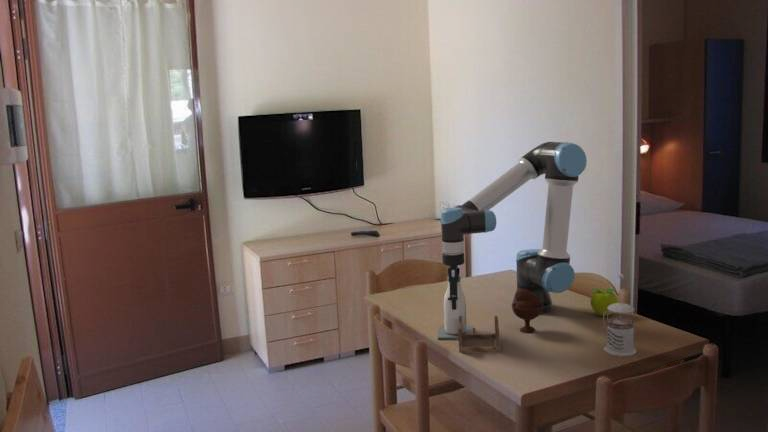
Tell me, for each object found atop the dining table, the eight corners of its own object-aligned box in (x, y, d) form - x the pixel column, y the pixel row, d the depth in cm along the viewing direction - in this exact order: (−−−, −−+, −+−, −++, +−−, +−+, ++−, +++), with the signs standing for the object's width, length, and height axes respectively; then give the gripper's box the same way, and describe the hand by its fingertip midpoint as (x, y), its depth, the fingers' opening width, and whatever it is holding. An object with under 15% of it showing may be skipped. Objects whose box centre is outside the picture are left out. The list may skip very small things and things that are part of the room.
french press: (619, 358, 196) (620, 279, 192) (593, 346, 206) (593, 271, 202) (643, 351, 200) (645, 274, 196) (616, 340, 210) (617, 267, 206)
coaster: (473, 327, 229) (472, 325, 229) (473, 339, 218) (472, 337, 217) (439, 327, 231) (439, 325, 231) (437, 339, 219) (437, 337, 219)
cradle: (498, 338, 218) (497, 315, 216) (499, 352, 205) (498, 328, 204) (459, 338, 220) (459, 315, 218) (459, 352, 207) (458, 328, 206)
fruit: (589, 310, 241) (589, 285, 240) (614, 311, 239) (615, 285, 238) (591, 318, 233) (591, 292, 231) (618, 319, 231) (618, 292, 229)
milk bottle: (465, 335, 220) (464, 279, 216) (443, 334, 221) (441, 279, 218) (467, 327, 227) (465, 273, 224) (445, 327, 229) (444, 273, 225)
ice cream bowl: (526, 338, 216) (525, 295, 214) (505, 329, 226) (504, 288, 224) (550, 332, 221) (549, 290, 219) (528, 323, 231) (528, 283, 228)
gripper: (443, 245, 232) (445, 301, 236) (440, 261, 208) (442, 323, 211) (464, 244, 231) (466, 300, 235) (463, 261, 207) (465, 323, 210)
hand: (455, 311), depth 223 cm, fingers open, 13 cm apart
